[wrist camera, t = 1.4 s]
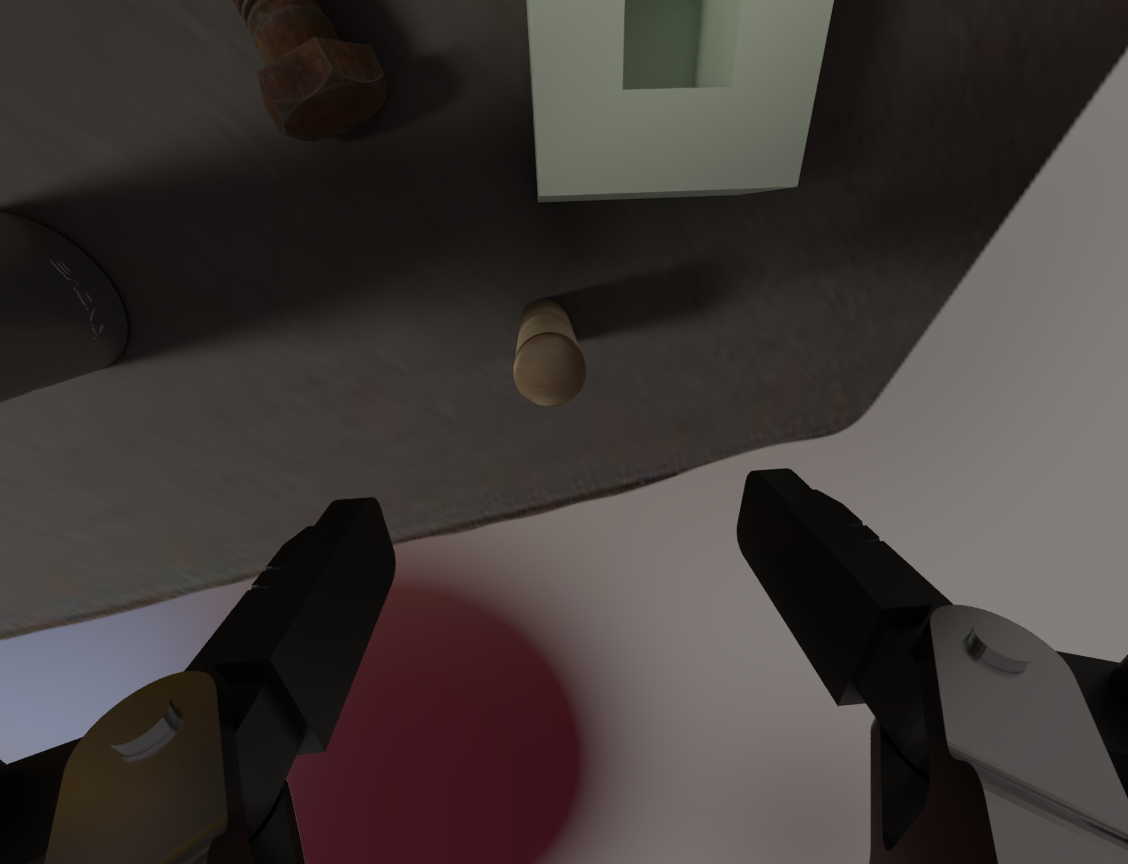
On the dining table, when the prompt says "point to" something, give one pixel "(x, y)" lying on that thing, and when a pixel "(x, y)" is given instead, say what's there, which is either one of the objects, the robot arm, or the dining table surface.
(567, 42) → the socket block
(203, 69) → the dining table surface
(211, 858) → the robot arm
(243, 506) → the dining table surface
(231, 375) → the dining table surface
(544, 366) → the peg
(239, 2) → the bolt
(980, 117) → the dining table surface
